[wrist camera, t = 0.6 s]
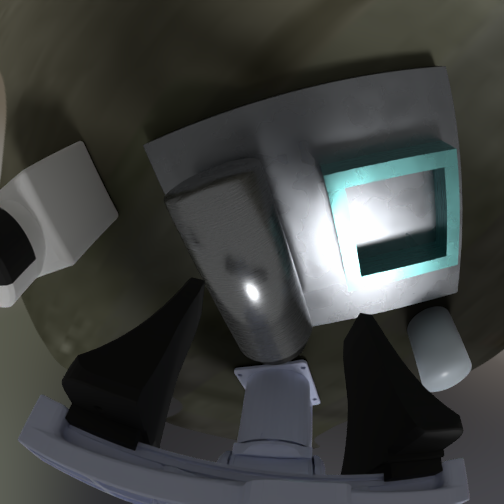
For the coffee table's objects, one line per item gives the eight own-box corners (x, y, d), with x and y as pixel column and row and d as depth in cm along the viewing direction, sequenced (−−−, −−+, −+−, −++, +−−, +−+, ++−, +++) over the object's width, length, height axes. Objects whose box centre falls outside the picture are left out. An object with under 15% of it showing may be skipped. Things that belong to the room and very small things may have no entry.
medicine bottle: (34, 172, 22) (-62, 241, 12) (84, 138, 20) (-36, 206, 10) (68, 237, 25) (-10, 324, 15) (121, 215, 23) (33, 317, 13)
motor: (451, 281, 23) (481, 339, 17) (239, 326, 28) (227, 389, 22) (435, 66, 14) (496, 70, 8) (152, 140, 20) (97, 173, 14)
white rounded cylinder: (447, 333, 26) (465, 382, 21) (406, 344, 28) (420, 396, 22) (452, 301, 24) (476, 352, 19) (407, 313, 25) (425, 368, 20)
